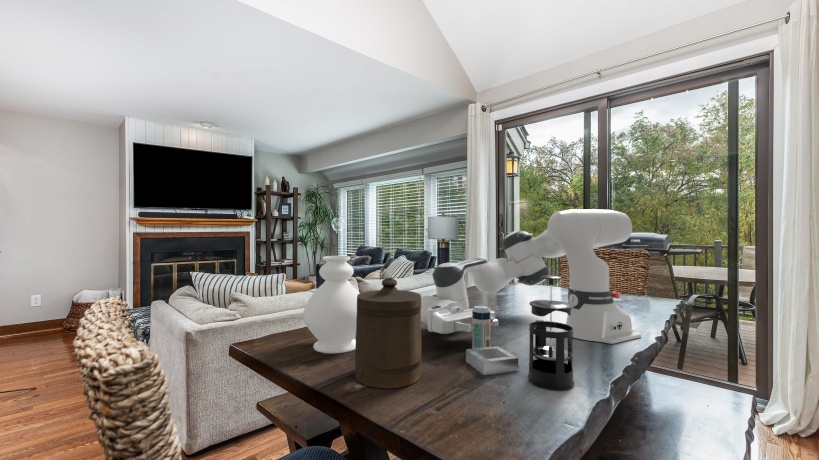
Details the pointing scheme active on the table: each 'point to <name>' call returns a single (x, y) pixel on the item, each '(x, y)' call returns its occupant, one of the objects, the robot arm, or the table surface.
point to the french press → (549, 359)
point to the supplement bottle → (481, 327)
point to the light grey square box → (491, 360)
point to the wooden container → (388, 337)
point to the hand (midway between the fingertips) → (484, 326)
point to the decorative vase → (333, 308)
